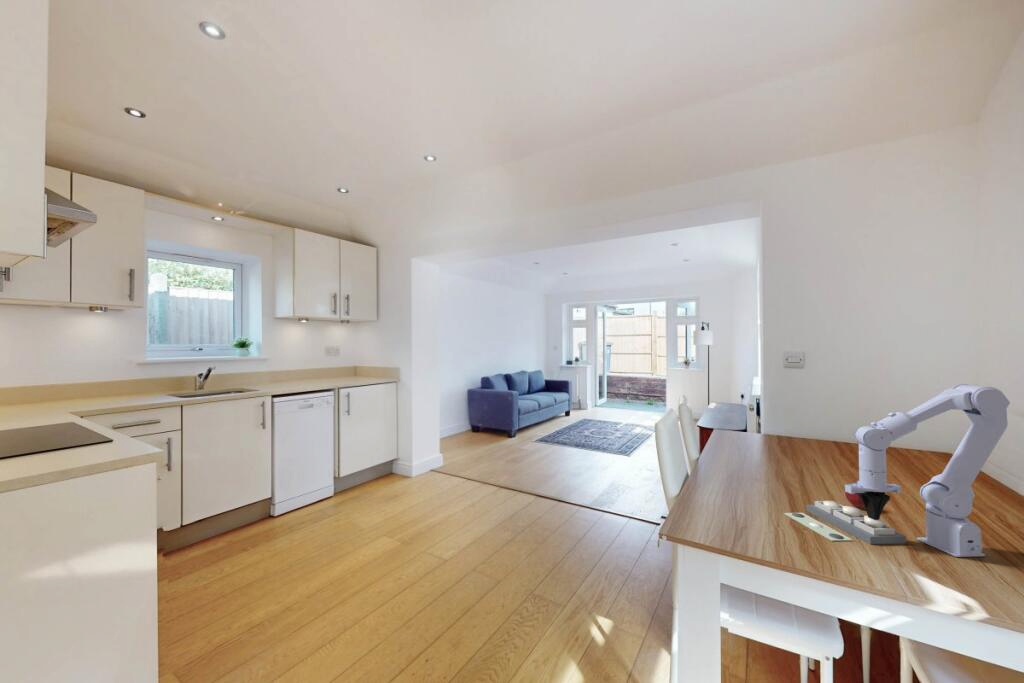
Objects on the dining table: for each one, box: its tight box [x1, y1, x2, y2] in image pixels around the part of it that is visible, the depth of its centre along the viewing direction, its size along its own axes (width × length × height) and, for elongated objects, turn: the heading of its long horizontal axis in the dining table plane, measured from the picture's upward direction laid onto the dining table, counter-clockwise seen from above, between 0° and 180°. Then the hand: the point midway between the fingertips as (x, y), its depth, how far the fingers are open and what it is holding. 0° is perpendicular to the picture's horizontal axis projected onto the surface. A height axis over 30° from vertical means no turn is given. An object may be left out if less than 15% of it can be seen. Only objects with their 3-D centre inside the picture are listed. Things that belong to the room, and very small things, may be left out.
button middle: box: [843, 505, 861, 517], centre depth 117 cm, size 4×4×2 cm
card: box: [783, 512, 854, 542], centre depth 116 cm, size 18×6×1 cm, turn 2°
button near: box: [864, 515, 885, 528], centre depth 110 cm, size 4×4×2 cm
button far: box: [822, 500, 841, 508], centre depth 124 cm, size 4×4×2 cm
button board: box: [806, 500, 907, 545], centre depth 117 cm, size 22×10×4 cm, turn 2°
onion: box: [845, 491, 865, 509], centre depth 130 cm, size 6×6×8 cm
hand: (873, 518), depth 110 cm, fingers closed
